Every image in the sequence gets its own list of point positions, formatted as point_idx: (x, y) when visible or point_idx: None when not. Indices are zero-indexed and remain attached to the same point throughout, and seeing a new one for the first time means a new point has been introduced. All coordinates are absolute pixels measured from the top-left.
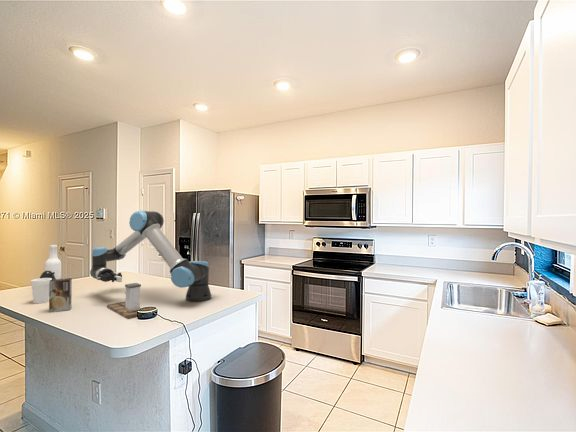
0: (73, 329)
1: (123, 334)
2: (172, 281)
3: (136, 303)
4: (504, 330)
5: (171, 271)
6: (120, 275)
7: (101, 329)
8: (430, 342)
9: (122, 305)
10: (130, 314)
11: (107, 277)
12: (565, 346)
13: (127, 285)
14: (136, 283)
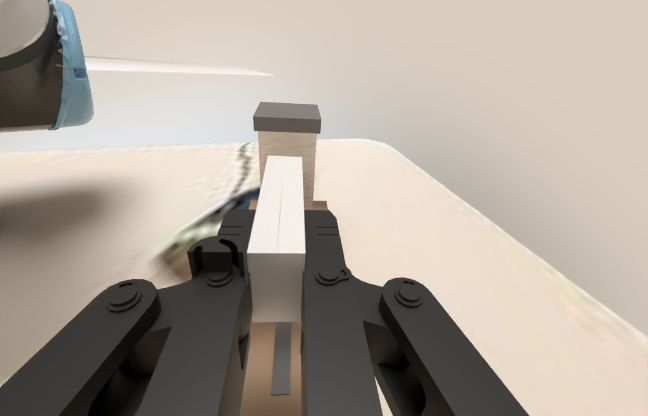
0: (484, 224)
1: (364, 161)
2: (91, 97)
3: None
4: (85, 61)
5: (49, 36)
6: (153, 288)
7: (406, 193)
8: (147, 71)
9: (283, 327)
10: (314, 206)
11: (436, 325)
12: (116, 58)
13: (318, 111)
14: (262, 111)
